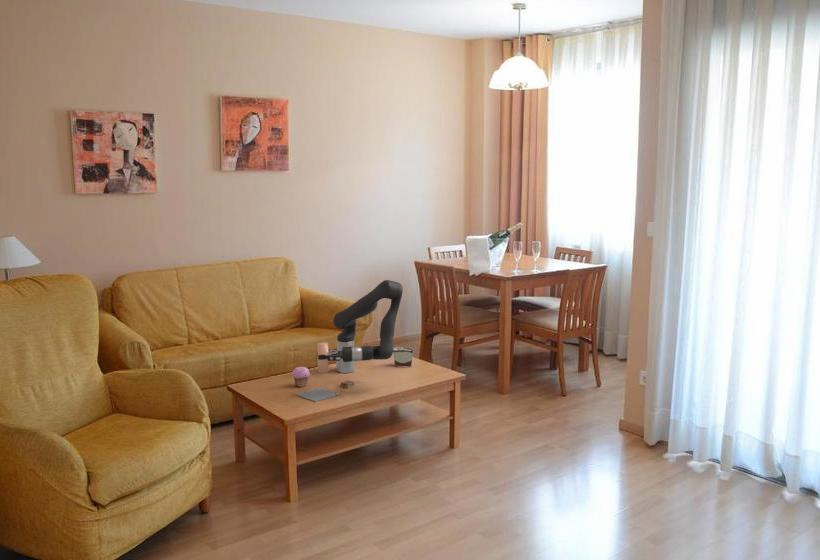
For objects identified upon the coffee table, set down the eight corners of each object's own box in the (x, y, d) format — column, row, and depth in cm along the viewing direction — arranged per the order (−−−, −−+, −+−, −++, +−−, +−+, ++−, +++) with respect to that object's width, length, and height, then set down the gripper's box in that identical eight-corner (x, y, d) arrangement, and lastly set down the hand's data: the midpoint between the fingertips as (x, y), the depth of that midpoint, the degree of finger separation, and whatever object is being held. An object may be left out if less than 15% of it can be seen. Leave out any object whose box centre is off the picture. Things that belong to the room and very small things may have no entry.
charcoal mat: (296, 395, 360) (296, 394, 360) (319, 388, 370) (319, 387, 370) (315, 402, 349) (315, 400, 349) (339, 395, 360) (339, 393, 360)
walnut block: (340, 387, 374) (340, 382, 374) (347, 384, 378) (347, 380, 378) (347, 388, 371) (347, 384, 371) (354, 386, 375) (354, 381, 374)
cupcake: (289, 385, 375) (288, 366, 373) (302, 382, 381) (302, 363, 380) (299, 389, 369) (299, 370, 367) (313, 385, 375) (313, 366, 373)
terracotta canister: (315, 371, 359) (315, 343, 356) (323, 369, 362) (323, 341, 360) (322, 373, 355) (322, 345, 353) (330, 371, 359) (330, 343, 357)
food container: (414, 364, 416) (415, 347, 414) (413, 367, 410) (414, 349, 408) (393, 363, 417) (393, 346, 415) (392, 366, 411) (392, 349, 409)
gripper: (350, 343, 367) (316, 344, 363) (353, 350, 353) (318, 352, 349) (350, 357, 368) (316, 359, 364) (354, 365, 354) (318, 367, 351)
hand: (317, 355), depth 357 cm, fingers closed on terracotta canister, 5 cm apart
